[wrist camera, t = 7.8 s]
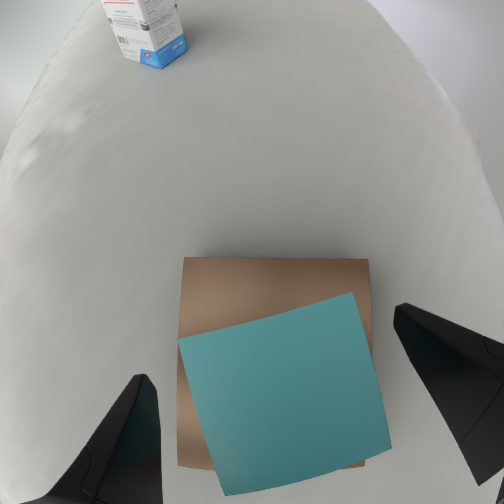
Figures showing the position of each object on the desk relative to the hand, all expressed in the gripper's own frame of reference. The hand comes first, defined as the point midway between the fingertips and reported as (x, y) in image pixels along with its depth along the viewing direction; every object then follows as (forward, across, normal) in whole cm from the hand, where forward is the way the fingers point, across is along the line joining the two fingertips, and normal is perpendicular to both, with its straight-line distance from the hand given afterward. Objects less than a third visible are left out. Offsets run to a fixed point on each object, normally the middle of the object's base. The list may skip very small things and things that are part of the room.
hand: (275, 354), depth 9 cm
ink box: (+33, +5, -18) cm, 38 cm away
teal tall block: (+5, 0, +7) cm, 8 cm away
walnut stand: (+6, 0, +8) cm, 11 cm away
